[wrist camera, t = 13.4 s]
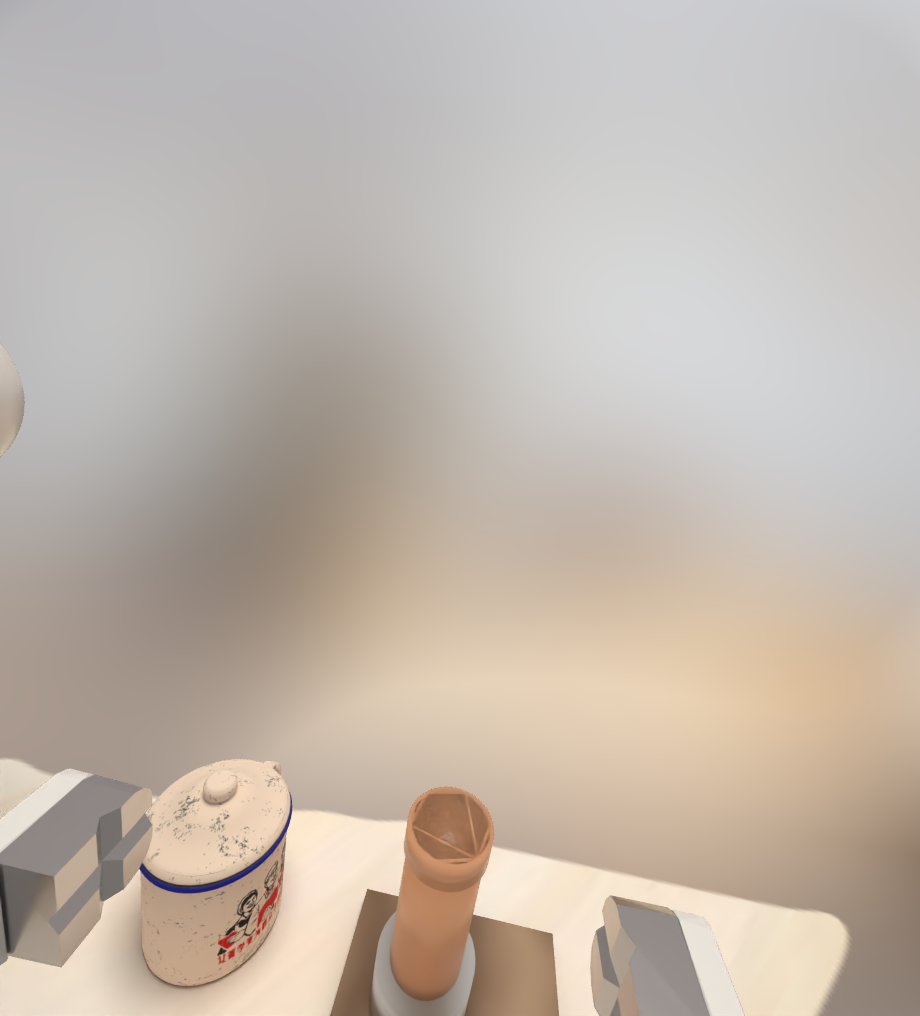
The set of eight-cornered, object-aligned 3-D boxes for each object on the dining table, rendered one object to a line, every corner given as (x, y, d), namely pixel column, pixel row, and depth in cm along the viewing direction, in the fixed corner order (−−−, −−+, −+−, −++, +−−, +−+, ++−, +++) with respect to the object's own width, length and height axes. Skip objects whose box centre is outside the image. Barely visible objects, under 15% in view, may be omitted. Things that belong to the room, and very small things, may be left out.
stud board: (300, 1125, 24) (308, 1060, 22) (365, 901, 34) (373, 848, 33) (567, 1200, 23) (590, 1136, 22) (549, 945, 33) (564, 892, 32)
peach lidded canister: (376, 994, 25) (398, 856, 23) (397, 901, 30) (417, 779, 27) (460, 1015, 25) (492, 878, 22) (468, 919, 30) (495, 796, 27)
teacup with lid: (236, 1014, 27) (244, 867, 24) (100, 971, 28) (93, 825, 25) (321, 832, 39) (334, 718, 36) (223, 806, 40) (228, 692, 37)
